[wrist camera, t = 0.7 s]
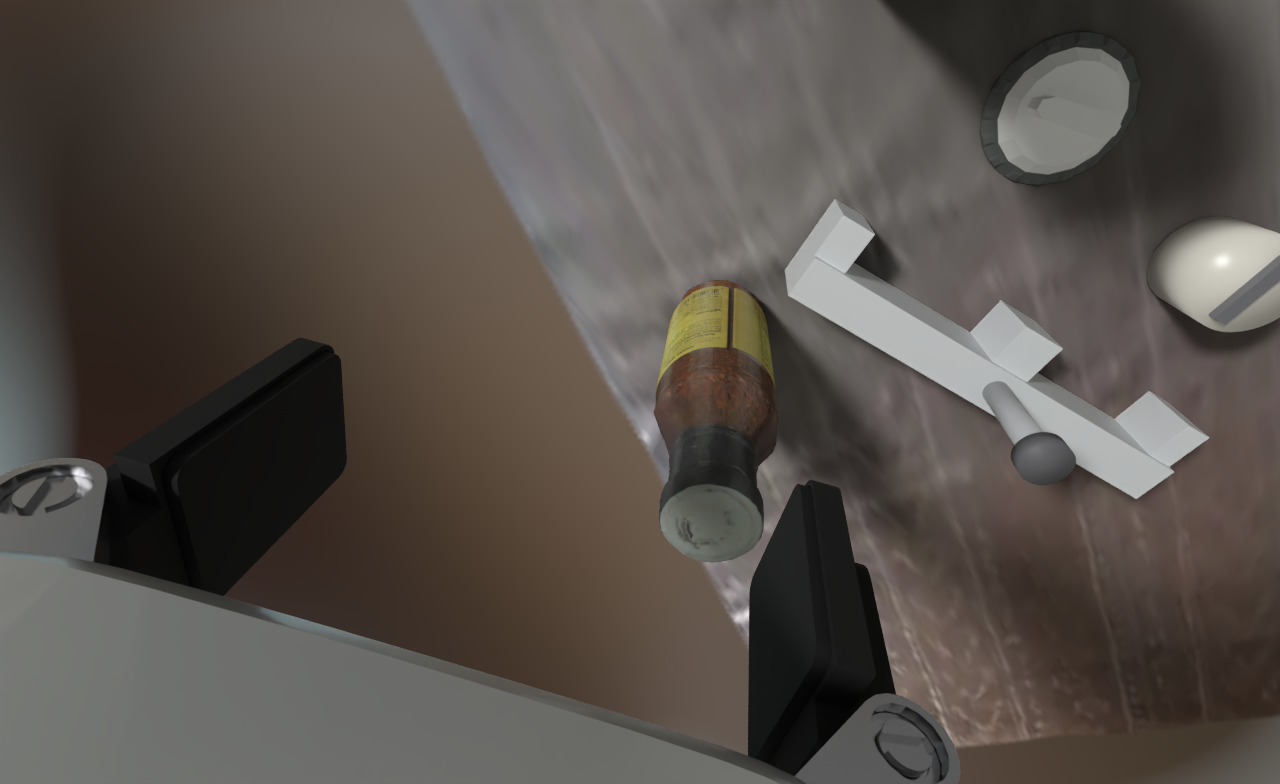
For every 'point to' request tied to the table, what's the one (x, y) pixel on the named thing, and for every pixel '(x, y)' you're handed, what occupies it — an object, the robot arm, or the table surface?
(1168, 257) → the knob slider
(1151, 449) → the mount
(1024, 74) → the stove knob
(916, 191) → the table surface
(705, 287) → the sauce bottle
